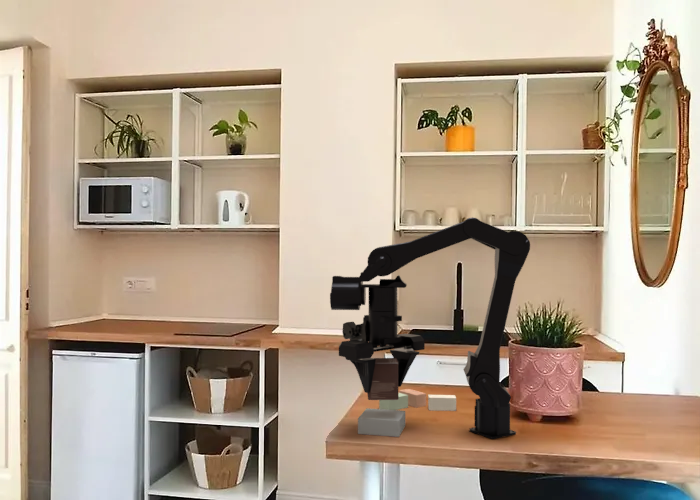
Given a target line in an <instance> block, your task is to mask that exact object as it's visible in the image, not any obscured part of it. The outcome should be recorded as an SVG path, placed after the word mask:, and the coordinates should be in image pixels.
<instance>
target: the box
mask: <svg viewBox="0 0 700 500" xmlns="http://www.w3.org/2000/svg"><path fill="white" fill-rule="evenodd" d="M372 358H373V359H376V361H375V367H374V373H373V380H372V386H371V390H370V393H366V394H367V395H366V396H367V400H368V401H379V400H398V399H399V398H398V393H399V387H398V361H397V359H396V358H393V357H382V358H381V357H372Z"/></svg>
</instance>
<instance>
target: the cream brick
mask: <svg viewBox="0 0 700 500" xmlns="http://www.w3.org/2000/svg"><path fill="white" fill-rule="evenodd" d="M427 395H428V396H427V398H428V399H427V400H428V402H427V405H428V407H427V408H428V411H438V412H439V411H442V412H448V411H449V412H456V411H457V397H456V395H455V394H427Z"/></svg>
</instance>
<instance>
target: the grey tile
mask: <svg viewBox="0 0 700 500" xmlns="http://www.w3.org/2000/svg"><path fill="white" fill-rule="evenodd" d="M405 427H406V410H401V409H399V410H385V409H379V408H368V407H367V408H366V409H364V411H363V412H362V413H361V414H360V415H359V416H358V418H357V434H358V435H368V436H369V435H370V436H382V437H394V438H395V437H396V438H400V436H401V434H402V433H403V430H404V429H405Z"/></svg>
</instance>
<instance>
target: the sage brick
mask: <svg viewBox="0 0 700 500" xmlns="http://www.w3.org/2000/svg"><path fill="white" fill-rule="evenodd" d="M398 398H399V399H398V400H378V409H385V410H404V409H407V408H408V409H409V405H408V395H406V394H402V393H399V392H398Z"/></svg>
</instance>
